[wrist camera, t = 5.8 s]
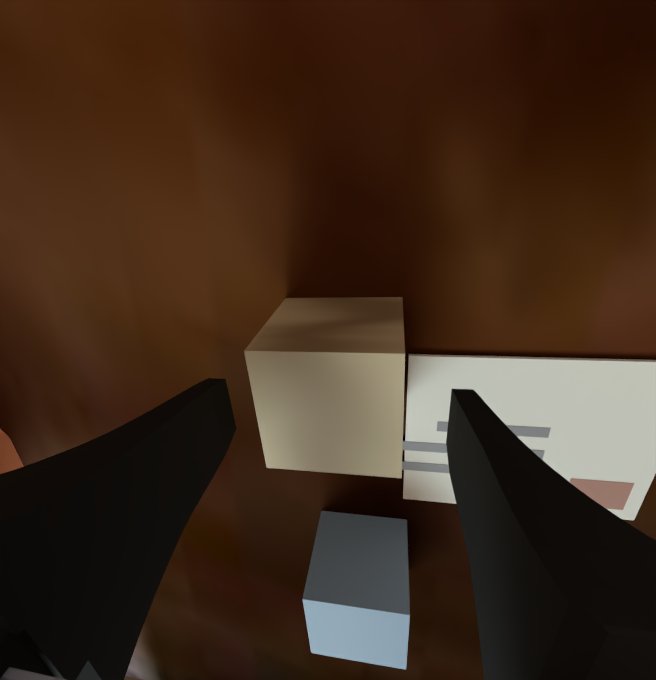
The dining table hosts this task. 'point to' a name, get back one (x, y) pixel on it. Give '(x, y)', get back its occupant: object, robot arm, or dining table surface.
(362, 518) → the slate cube
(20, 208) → the dining table surface
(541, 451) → the letter
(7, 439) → the potted cactus
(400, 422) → the oak block
